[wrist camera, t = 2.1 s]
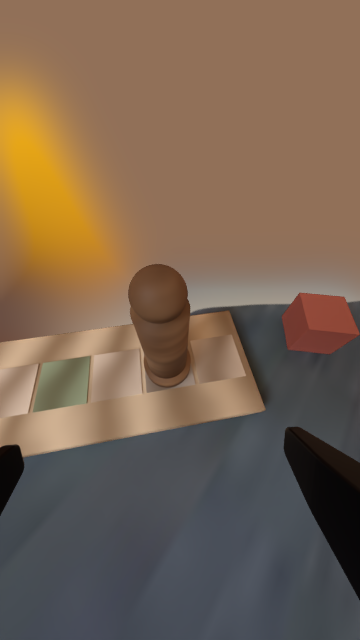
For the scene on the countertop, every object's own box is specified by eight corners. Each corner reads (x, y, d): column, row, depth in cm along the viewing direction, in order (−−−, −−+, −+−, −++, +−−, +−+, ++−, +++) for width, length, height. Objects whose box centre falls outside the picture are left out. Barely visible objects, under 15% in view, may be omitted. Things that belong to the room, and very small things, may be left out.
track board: (226, 316, 25) (229, 310, 24) (261, 412, 19) (266, 409, 18) (1, 348, 23) (-8, 343, 21) (-40, 469, 17) (-56, 470, 16)
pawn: (197, 356, 21) (215, 259, 10) (177, 396, 19) (174, 325, 8) (160, 338, 22) (142, 235, 11) (137, 374, 20) (89, 287, 9)
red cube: (319, 320, 25) (344, 296, 21) (329, 354, 22) (360, 334, 19) (281, 316, 25) (299, 292, 21) (287, 349, 23) (309, 329, 19)
